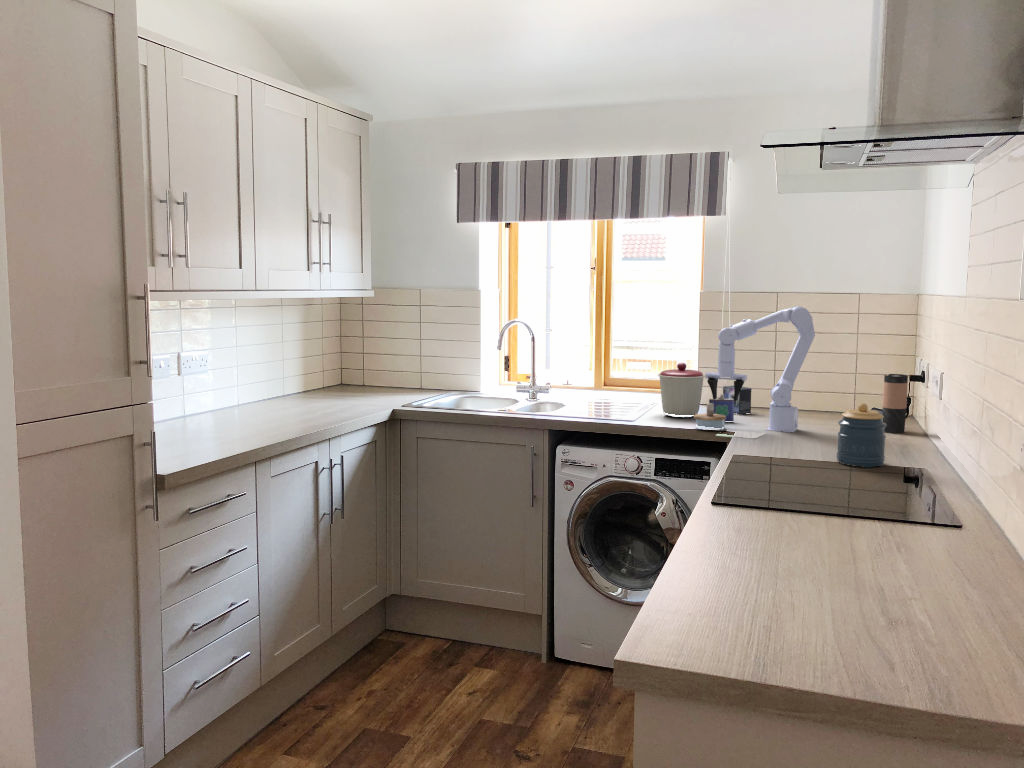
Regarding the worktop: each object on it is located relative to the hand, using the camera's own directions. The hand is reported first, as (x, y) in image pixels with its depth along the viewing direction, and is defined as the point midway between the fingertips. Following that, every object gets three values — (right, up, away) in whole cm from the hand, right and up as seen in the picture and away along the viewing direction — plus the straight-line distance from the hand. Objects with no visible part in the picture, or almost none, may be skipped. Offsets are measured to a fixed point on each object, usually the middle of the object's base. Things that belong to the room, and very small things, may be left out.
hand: (725, 399), depth 309 cm
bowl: (-6, -11, 0) cm, 12 cm away
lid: (-6, -7, -1) cm, 9 cm away
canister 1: (-10, -7, +28) cm, 31 cm away
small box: (+14, -6, +37) cm, 40 cm away
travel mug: (+57, -11, -6) cm, 59 cm away
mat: (+3, -12, -12) cm, 17 cm away
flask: (+2, -9, +14) cm, 17 cm away
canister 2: (+25, -18, -58) cm, 65 cm away
